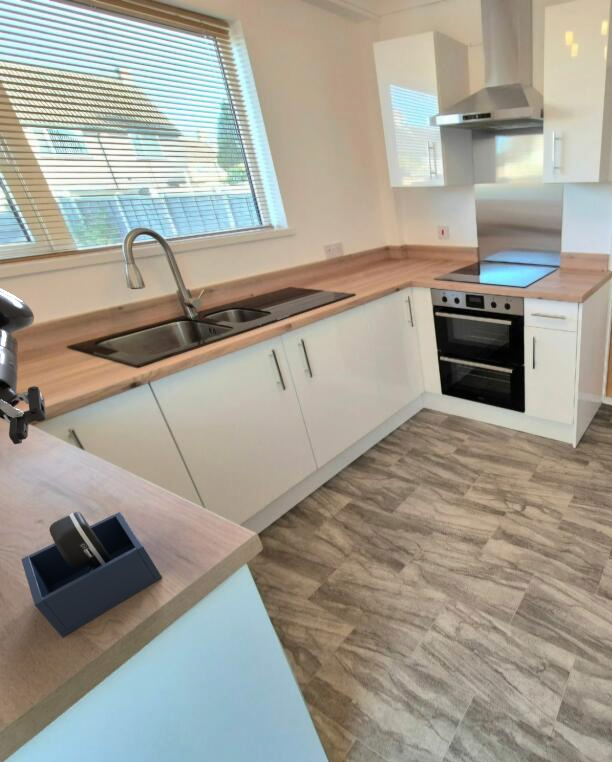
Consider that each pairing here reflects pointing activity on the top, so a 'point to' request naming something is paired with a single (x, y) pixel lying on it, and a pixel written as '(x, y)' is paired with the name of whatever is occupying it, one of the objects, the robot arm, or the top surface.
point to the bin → (89, 577)
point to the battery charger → (78, 542)
